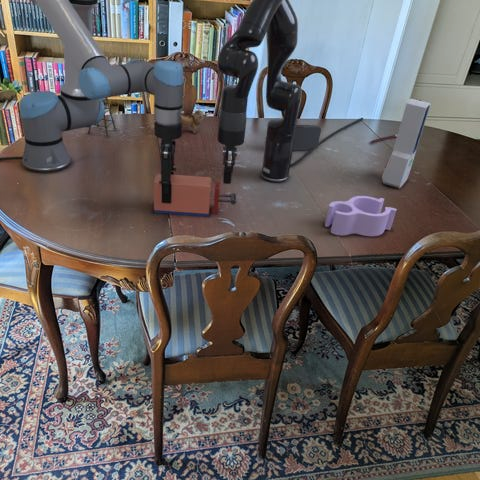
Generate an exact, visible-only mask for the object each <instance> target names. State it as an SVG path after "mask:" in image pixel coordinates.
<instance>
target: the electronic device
mask: <svg viewBox="0 0 480 480" xmlns="http://www.w3.org/2000/svg"><path fill="white" fill-rule="evenodd" d="M431 105H432V103H431V102H428V101H423V100H418V99H414V98H409V99H408V100H407V101H406V104H405V107H404V110H403V113H402V118H401V120H400V124H399V127H398V131H397V134H398V135H397V137H395V138H396V139H395V142H394V146H393V148H392V153H391V154H390V157H389V160H388V162H387V164H386V166H385V169H384V171H383V173H382V175H381V181H382V183H383V185H387V186H390V187H393V188H396V189H401V188H402V187H403V186H404V184H405V183H406V182H407V180H408V179H409V175H410V173H411V169H412V167H413V162H414V160H415V156H416V152H417V149H418V146H419V143H420V141H421V136H422V134H423V130H424V127H425V124H426V120H427V118H428V115H429V111H430V109H431Z"/></svg>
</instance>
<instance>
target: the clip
mask: <svg viewBox="0 0 480 480" xmlns="http://www.w3.org/2000/svg"><path fill="white" fill-rule="evenodd" d="M384 201H385V198H383V197H379V198H376V197H373V196H368V195H357V196H352V197H350V198H349V200H347V201H339V200H338V201H337V200H335V201H332V202H330V203H329V205H328V208H327V214H326V218H325V222H324V227H326V228H329V227H330V226H331V227H330V233H331V234H333V235H336V236H348V235H353V234H356V235H360V236H364V237H365V236H366V237H378V236H381V235H382V234H384V232H385V230H387V231H391V229H392V226H393V222H394V219H395V216H396V213H397V210H398V209H397V208H395V207H391V206H385V207H384V211H383V212H382V209H383V206H384Z"/></svg>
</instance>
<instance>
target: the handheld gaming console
mask: <svg viewBox="0 0 480 480" xmlns="http://www.w3.org/2000/svg"><path fill="white" fill-rule="evenodd" d="M321 133H322V127H321V126H319V125H318V124H296V126H295V130H294V136H293V142H292V148H291V152H293V151H294V152H295V151H309V150H311V149H312V148H314V150H317V148H318V147H319V146H318V144H319V142H320V137H321Z"/></svg>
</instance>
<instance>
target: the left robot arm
mask: <svg viewBox="0 0 480 480" xmlns="http://www.w3.org/2000/svg"><path fill="white" fill-rule="evenodd" d="M98 1H99V0H30V2H31V3H32V4H33V5H35V6H37V7H38V8H39V9H40V11H41V12H42V14H43V16H44V17H45V18H46V20H47V21H48V23H49V25H50V26H51V28H52V30H53V31H54V33H55V34H56V36H57V37H58V39H59V41H61V43H62V45H63V58H64V59H63V61H64V64H63V65H64V82H63V83H62V84H61V86H60V94H57V93H56V92H54V91H51V90H44V91H42V90H37V91H33V92H30V93H27V94H25V95H24V96H22V97H21V98H20V100H19V103H18V104H19V116H20V119H21V125H22V132H23V137H24V148H23V153H22V156H3V157H0V161H13V160H14V161H15V160H21V161H22V166H23V168H24V169H25V170H27V171H29V172H33V173H39V174H46V173H56V172H61V171H63V170H66V169H67V168H69V167H70V166H71V163H72V159H71V155H70V153H69V151H68V150H67V149H68V148H67V147H66V145H65V143H64V140H63V133H64V132H69V131H74V130H79V129H83V128H89V127H90V126H91V127H92V126H95V125H97V124H98V123H99V124H100V123H101V122H102V121H103V120H102V119H104V111H105V109H104V107H105V103H104V101H103V100H104V99H106V98H108V99H109V98H112V97H119V96H125V95H130V94H131V95H132V94H138V93H147V94H150V95H152V96H153V100H154V101H153V120H154V123H153V126H154V136H155V137H156V138H158V139H160V140H161V142H160V144H159V145H160V146H159V147H160V174H161V181H159V183H161V184H162V203H171V175H175V172H176V171H177V167H175V154H176V146H177V145H176V144H177V141H176V140H178V139H180V138H181V137H182V135H183V124H182V123H181V122H182V116H183V115H185V110H183V103H184V100H183V99H184V83H185V79H184V67H183V65H182V64H181V63H180V62H178V61H172V60H158V61H156V62H154V63H151V62H148V61H147V60H145V59H139V58H132V59H130V60H129V61H127V62H126V63H121V64H111V63H110V61H109V59H108V58H107V57H106V55H105V53H104V52H103V50H102V49H101V48H100V46H99V45H98V43H97V41H96V40H95V39H94V36H93V10H94V8H95V7H96V6H97V5H98V4H99V3H98Z"/></svg>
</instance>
